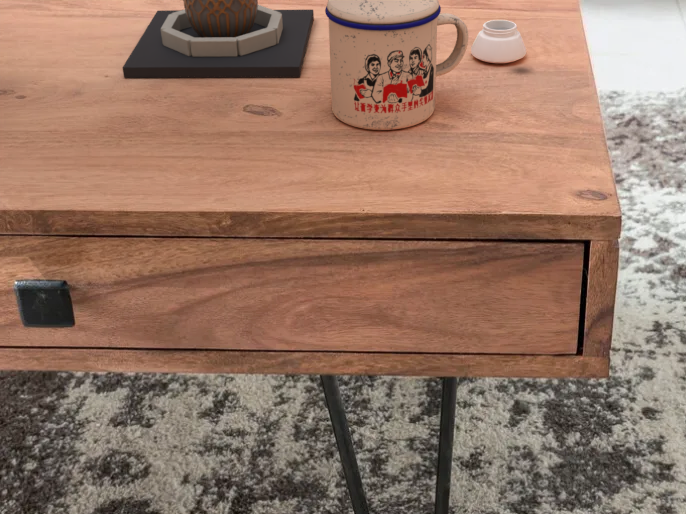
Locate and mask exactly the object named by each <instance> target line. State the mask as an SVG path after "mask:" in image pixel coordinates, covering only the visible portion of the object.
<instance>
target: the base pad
mask: <svg viewBox="0 0 686 514" xmlns="http://www.w3.org/2000/svg"><path fill="white" fill-rule="evenodd" d="M314 15H315V13H314V9H272V8H269V7H266V6H264V5H261V4H258V9H257V15H256V19H255V22H254V25H253V26H252V28H251V30H250V31H249V32H248V34H245V35H241V36H238V37H203V38H201V37H200V36H199V35H198V34H197V33H196V32H195V31H194V29H193V28H192V26H191V25H190V23H189V21H188V18H187V15H186V12H185V9H182V10H181V9H178V10H177V9H176V10H175V9H174V10H173V9H171V10H167V9H166V10H165V9H164V10H157V11H156V12H155V14H154V16H153V17H152V19H151V21H150V22H149V24H148V25H147V26H146V28H145V30H144V31H143V33H142V34H141V37H140V38H139V40H138V42H137V43H136V44H135V46H134V48H133V49H132V51H131V53H130V55H129V56H128V58H127V59H126V61H125V63H124V64H123V66H122V73H123V78H124V79H147V78H148V79H153V78H154V79H163V78H164V79H168V78H169V79H177V78H178V79H180V78H181V79H182V78H183V79H185V78H187V79H188V78H189V79H191V78H193V79H194V78H195V79H196V78H197V79H199V78H201V79H202V78H205V79H207V78H208V79H210V78H218V79H219V78H224V79H226V78H228V79H229V78H231V79H232V78H233V79H234V78H300V77H301V74H302V69H303V65H304V62H305V58H306V53H307V48H308V46H309V45H308V44H309V41H310V36H311V32H312V27H313V24H314V19H315V16H314Z"/></svg>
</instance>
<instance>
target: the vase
mask: <svg viewBox="0 0 686 514" xmlns="http://www.w3.org/2000/svg"><path fill="white" fill-rule="evenodd" d="M182 1H183V6H184V10H185V12H186V15H187V18H188V21H189V23H190V25H191V26H192V28H193V29H194V31H195V32H196V33H197V34H198V35H199V36H200V37H201V38H203V37H238V36H241V35H245V34H248V32H249V31H250V30H251V28H252V26H253V25H254V22H255V19H256V15H257V9H258V5H259V2H258V1H259V0H182Z"/></svg>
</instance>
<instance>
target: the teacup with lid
mask: <svg viewBox="0 0 686 514" xmlns="http://www.w3.org/2000/svg"><path fill="white" fill-rule="evenodd" d="M324 9H325V10H324V12H325V16H326V17H327V18H328V38H329V39H328V41H329V44H328V45H329V64H330V65H329V70H330V71H329V72H330V97H331V100H330V101H331V102H330V103H331V111H332V113H333V115H334V116H335V117H336V118H337V119H338V120H340V121H341V122H343V123H344V124H346V125H349V126H351V127H355V128H360V129H365V130H371V131H372V130H373V131H390V130H391V131H392V130H399V129H405V128H410V127H413V126H416V125H419V124H421V123H423V122H425V121H426V120H428V119H429V118H431V116H432V114H434V111H435V109H436V88H437V87H436V85H437V84H436V82H437V77H440V76H444V75H446V74H448V73H450V72H452V71H453V70H454V69H456V68H457V66H458V65H460V63H461V61H462V59H463V58H464V56H465V54H466V51H467V48H468V44H469V29H468V26H467V24H466V22H465V21H463V19H461V18H460V17H459V16H458V15H456V14H452V13H450V12H449V13H448V12H442V13H441V10H442V7H441V5H440V1H439V0H327V3H326V5H325V8H324ZM443 25H454V26H455V28H456V41H455V44H454V47H453V49H452V51H451V53H450V55H448V57H447V58H446V59H444V61H442V62H440V63H437V49H438V47H437V45H438V44H437V43H438V26H443Z"/></svg>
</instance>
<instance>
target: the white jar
mask: <svg viewBox="0 0 686 514" xmlns="http://www.w3.org/2000/svg"><path fill="white" fill-rule="evenodd" d="M470 53H471V56H473V57H474V58H476V59H477V60H479V61H482V62H485V63H490V64H509V63H513V62H515V61H518V60H520V59H523V58H524V57H525V56H526V55H527V47H526V44H525V42H524V39H523V37H522V35H521V32H520V31H519V30H518V26H517V23H516V22H514V21H512V20H507V19H491V20H488V21H485V22H484V23H483V24H482V29H481V30H480V31H479V32H478V33H477V35H476V37H475V39H474V40H473V43H472V45H470Z"/></svg>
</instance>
